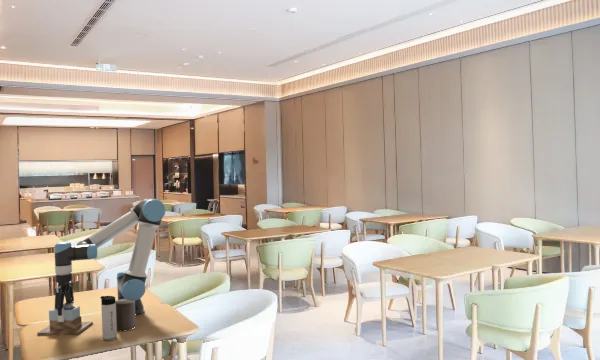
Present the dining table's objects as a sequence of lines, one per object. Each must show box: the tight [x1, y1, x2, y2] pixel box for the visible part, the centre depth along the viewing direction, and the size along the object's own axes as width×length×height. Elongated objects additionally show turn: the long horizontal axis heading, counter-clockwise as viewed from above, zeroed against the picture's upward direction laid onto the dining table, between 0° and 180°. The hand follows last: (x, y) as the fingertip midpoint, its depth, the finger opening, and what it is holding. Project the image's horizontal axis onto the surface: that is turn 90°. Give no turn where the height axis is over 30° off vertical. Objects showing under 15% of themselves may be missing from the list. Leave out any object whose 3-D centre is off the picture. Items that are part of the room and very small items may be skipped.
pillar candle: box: [115, 299, 136, 332], centre depth 244 cm, size 10×10×15 cm
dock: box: [36, 315, 94, 336], centre depth 245 cm, size 20×16×6 cm
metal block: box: [63, 301, 74, 310], centre depth 245 cm, size 4×4×4 cm
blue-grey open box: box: [48, 305, 81, 322], centre depth 244 cm, size 12×7×5 cm, turn 87°
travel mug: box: [100, 295, 118, 342], centre depth 229 cm, size 6×7×20 cm
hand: (65, 319), depth 244 cm, fingers closed on blue-grey open box, 7 cm apart
